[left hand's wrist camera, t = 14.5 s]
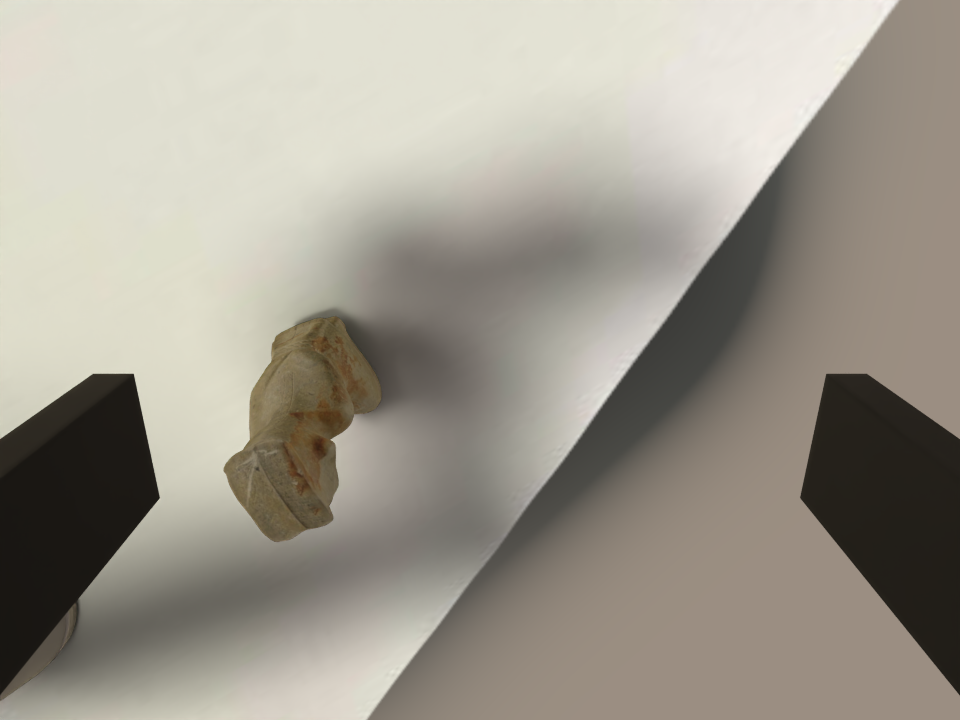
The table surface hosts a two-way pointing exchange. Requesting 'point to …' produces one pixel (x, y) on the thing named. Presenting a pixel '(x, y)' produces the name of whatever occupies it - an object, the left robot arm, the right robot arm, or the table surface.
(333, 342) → the sculpture
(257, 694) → the table surface
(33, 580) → the left robot arm
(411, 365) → the table surface
